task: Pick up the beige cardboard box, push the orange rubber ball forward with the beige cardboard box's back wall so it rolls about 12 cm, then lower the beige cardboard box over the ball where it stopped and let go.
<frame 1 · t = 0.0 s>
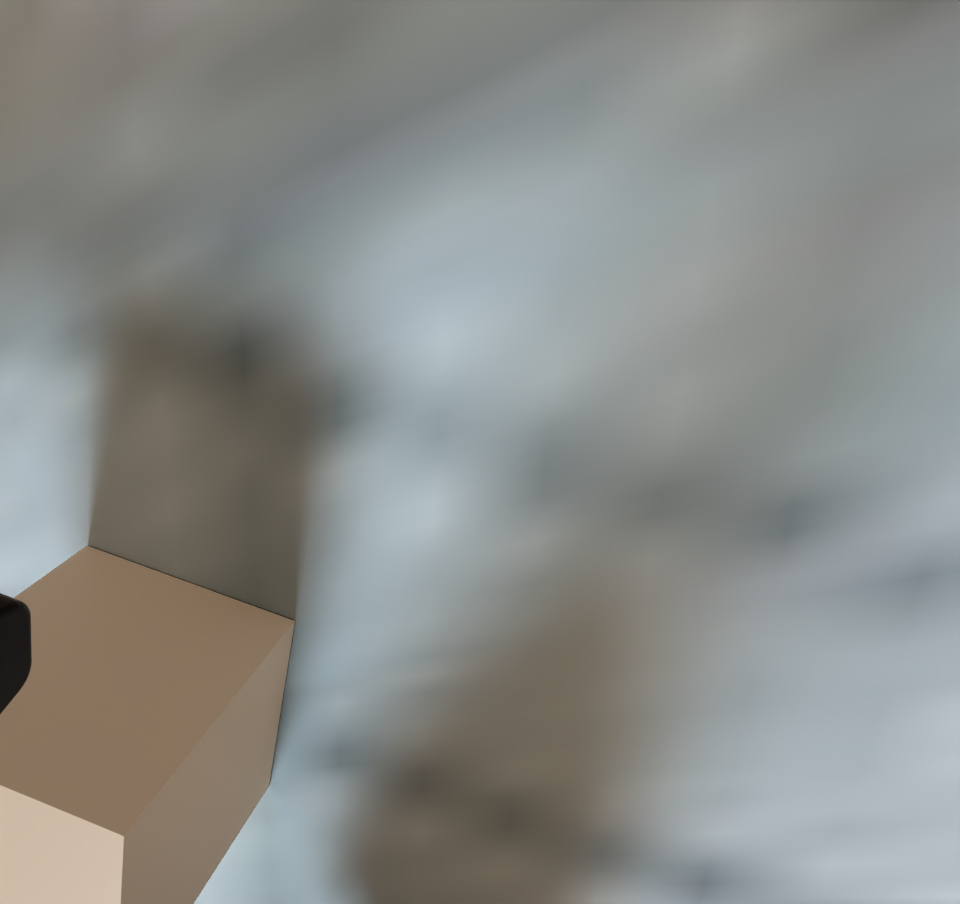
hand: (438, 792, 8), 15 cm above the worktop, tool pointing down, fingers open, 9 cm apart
beige cardboard box: (181, 670, 29), on the worktop
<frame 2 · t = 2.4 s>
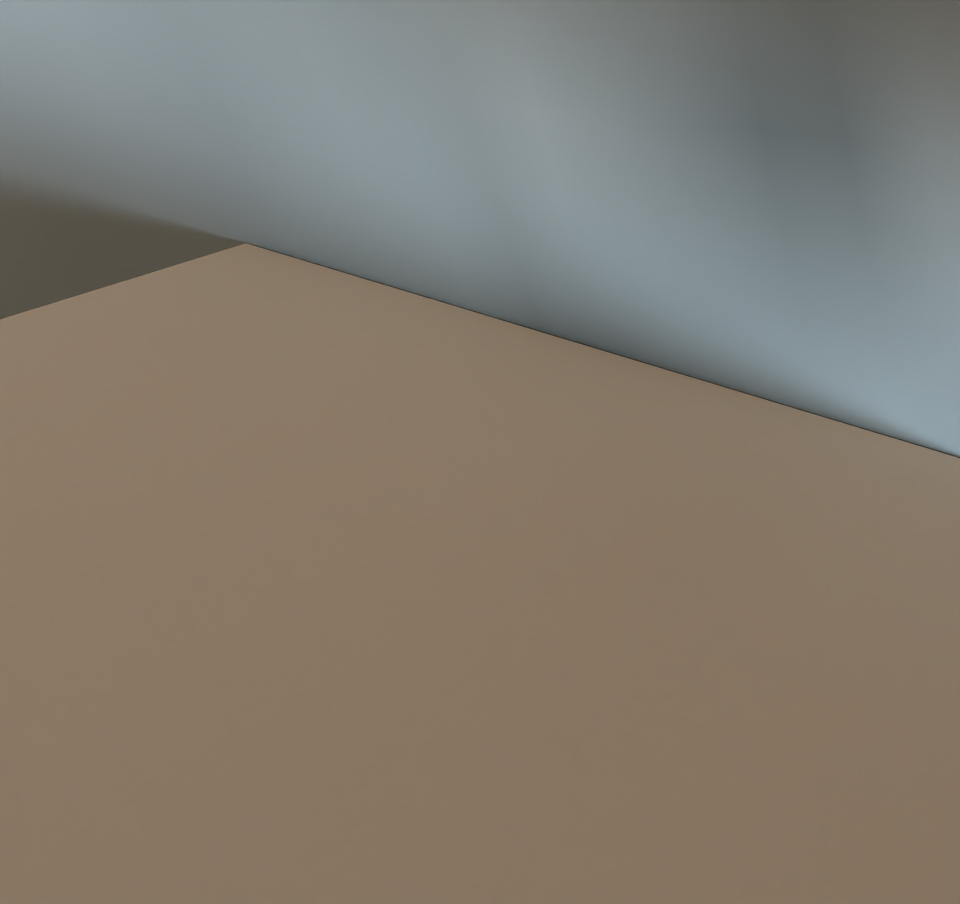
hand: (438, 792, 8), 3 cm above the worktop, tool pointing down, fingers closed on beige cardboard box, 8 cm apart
beige cardboard box: (499, 637, 10), on the worktop, touching gripper
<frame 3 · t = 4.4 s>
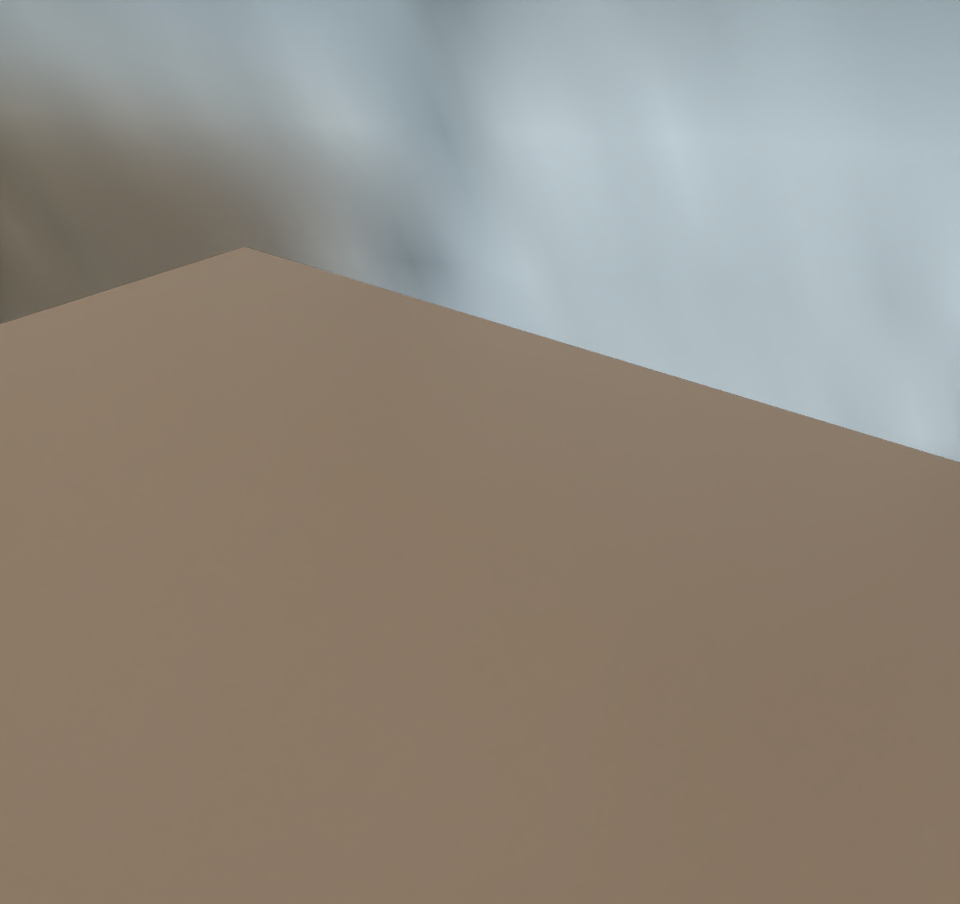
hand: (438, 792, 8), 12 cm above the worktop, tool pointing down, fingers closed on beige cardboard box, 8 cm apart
beige cardboard box: (497, 639, 10), point 9 cm above the worktop, touching gripper
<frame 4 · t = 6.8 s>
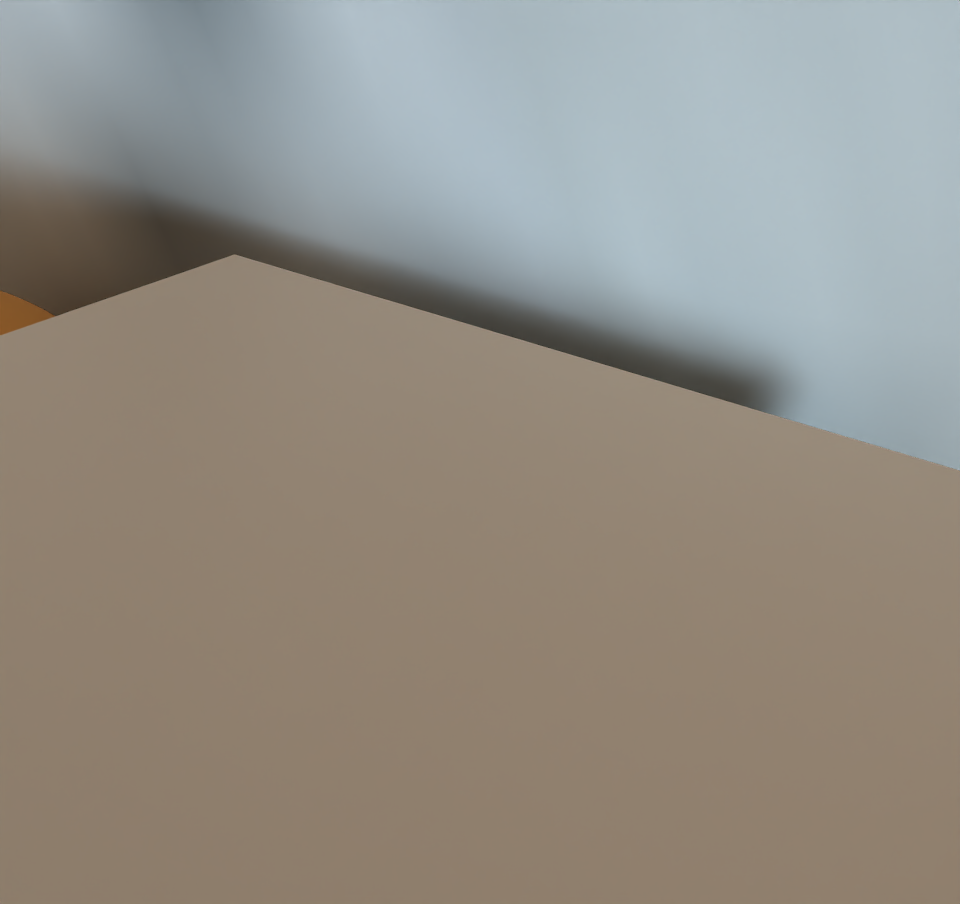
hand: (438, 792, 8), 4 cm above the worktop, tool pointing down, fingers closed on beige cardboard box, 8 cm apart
beige cardboard box: (492, 646, 10), point 2 cm above the worktop, touching gripper
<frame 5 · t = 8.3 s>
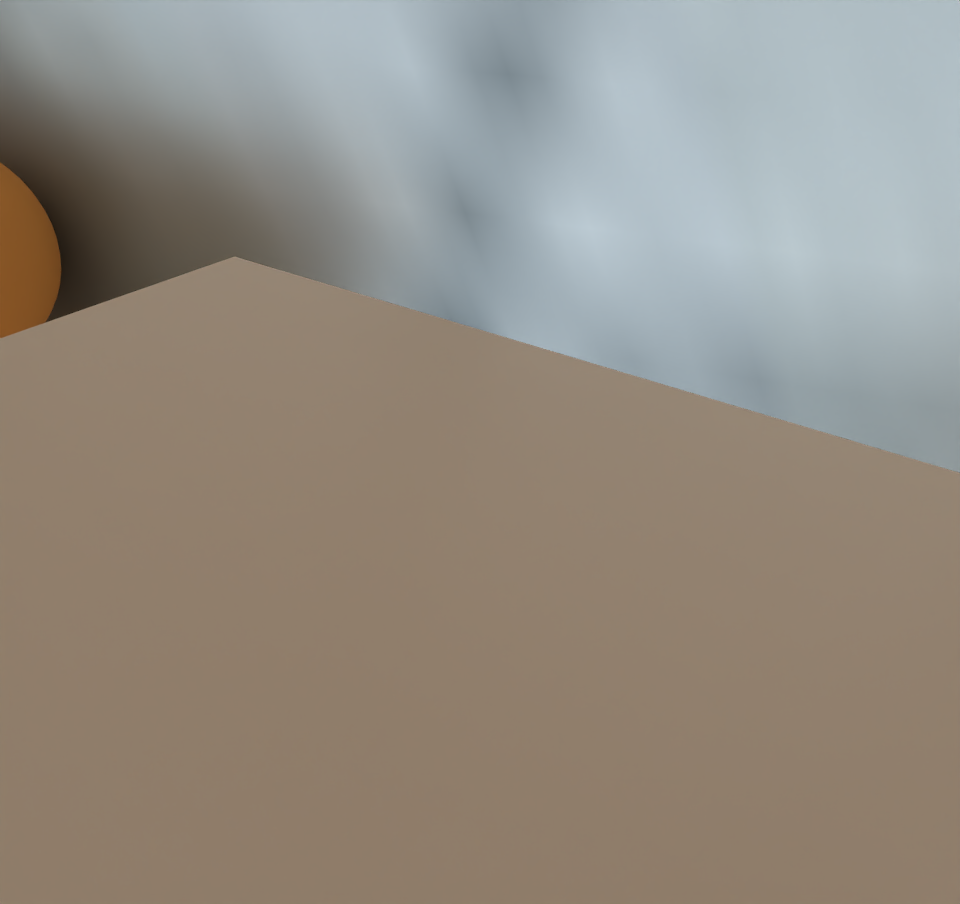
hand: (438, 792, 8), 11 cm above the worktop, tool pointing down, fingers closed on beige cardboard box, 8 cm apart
beige cardboard box: (491, 648, 10), point 8 cm above the worktop, touching gripper
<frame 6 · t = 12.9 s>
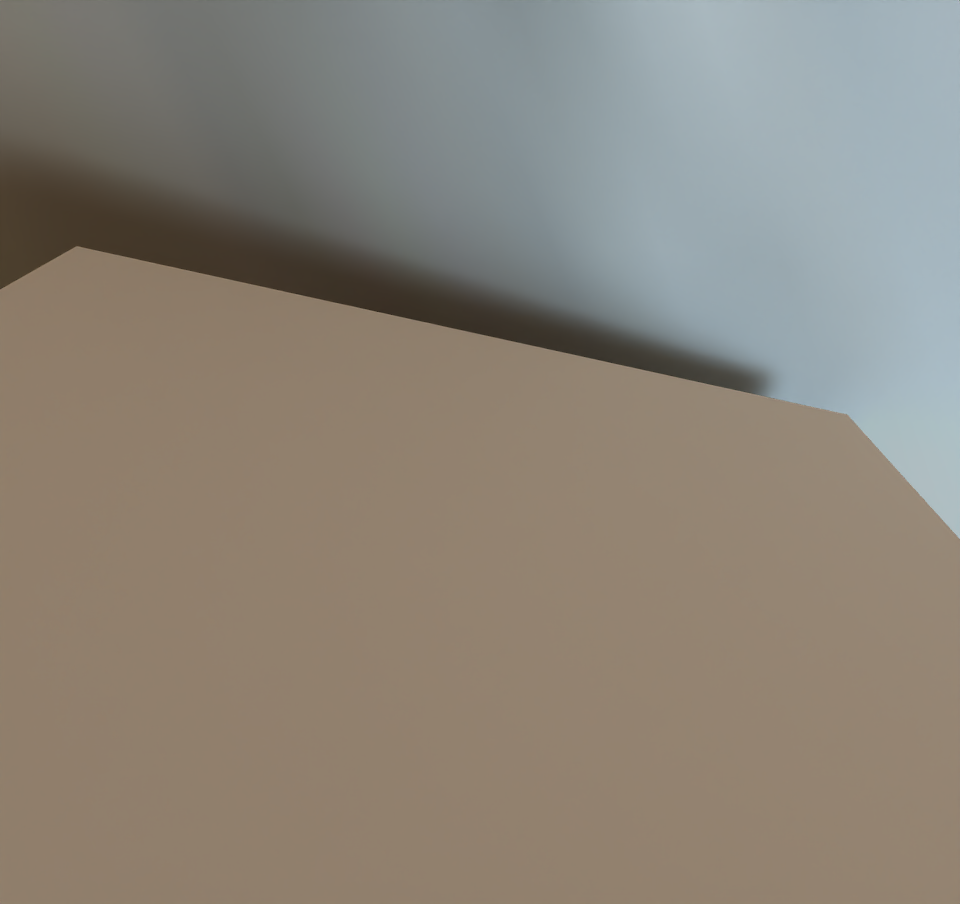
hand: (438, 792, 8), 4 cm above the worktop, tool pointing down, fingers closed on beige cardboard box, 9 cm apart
beige cardboard box: (408, 633, 10), point 2 cm above the worktop, tilted 18°, touching ball, gripper
when the fingers open (4 cm above the worktop, at t = 14.6 s): beige cardboard box drops 2 cm, on the worktop.
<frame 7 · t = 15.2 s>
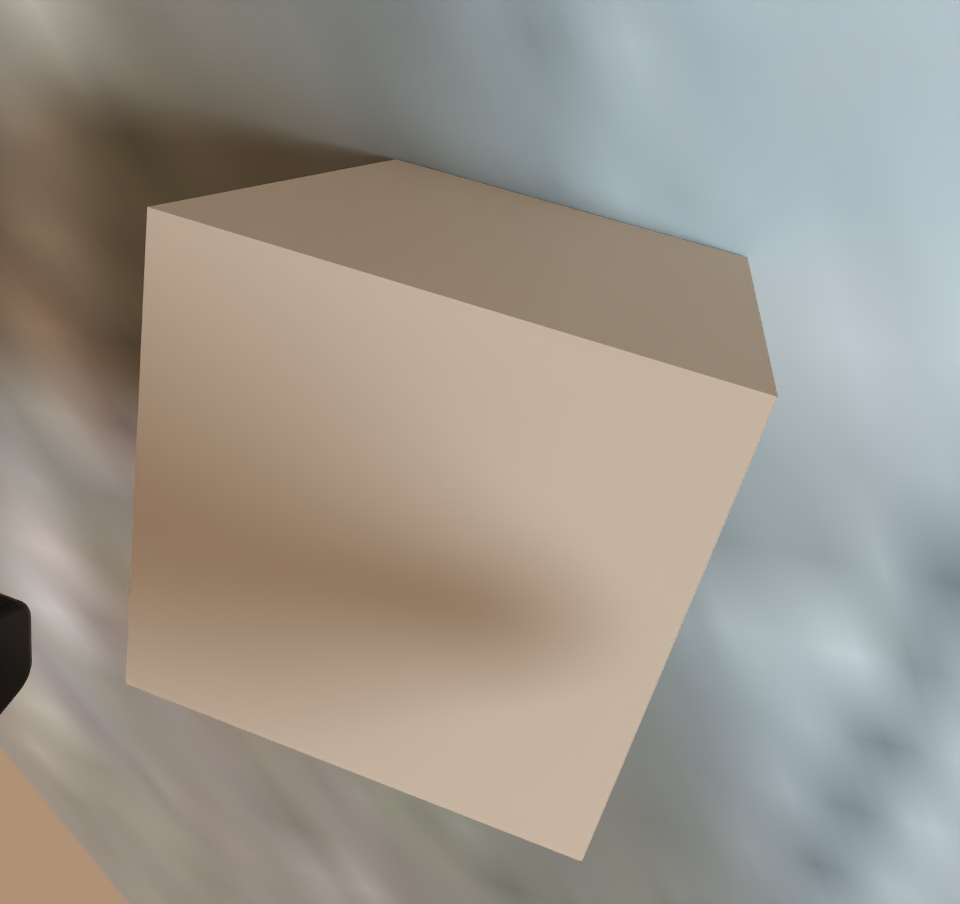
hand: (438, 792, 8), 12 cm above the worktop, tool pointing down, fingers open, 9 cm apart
beige cardboard box: (521, 374, 19), on the worktop
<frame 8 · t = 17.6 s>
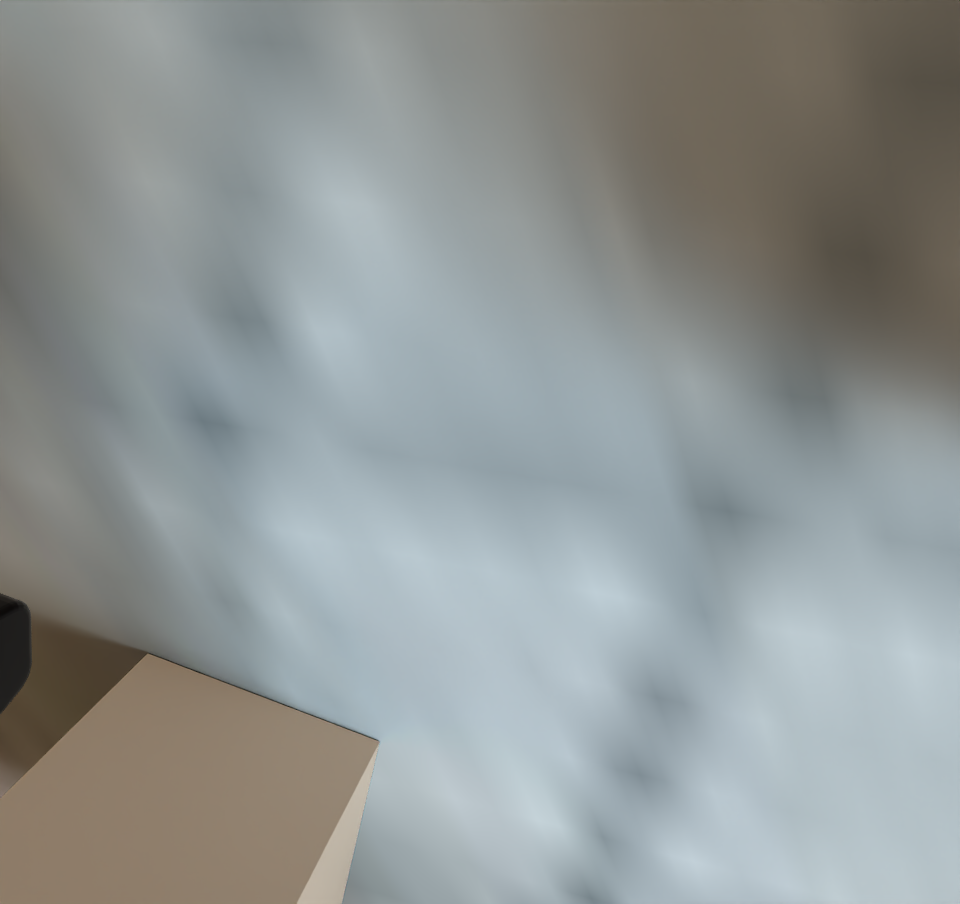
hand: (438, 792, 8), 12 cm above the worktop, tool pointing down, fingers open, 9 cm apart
beige cardboard box: (248, 785, 26), on the worktop
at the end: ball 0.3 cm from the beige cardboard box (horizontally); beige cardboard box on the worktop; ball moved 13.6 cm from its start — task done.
